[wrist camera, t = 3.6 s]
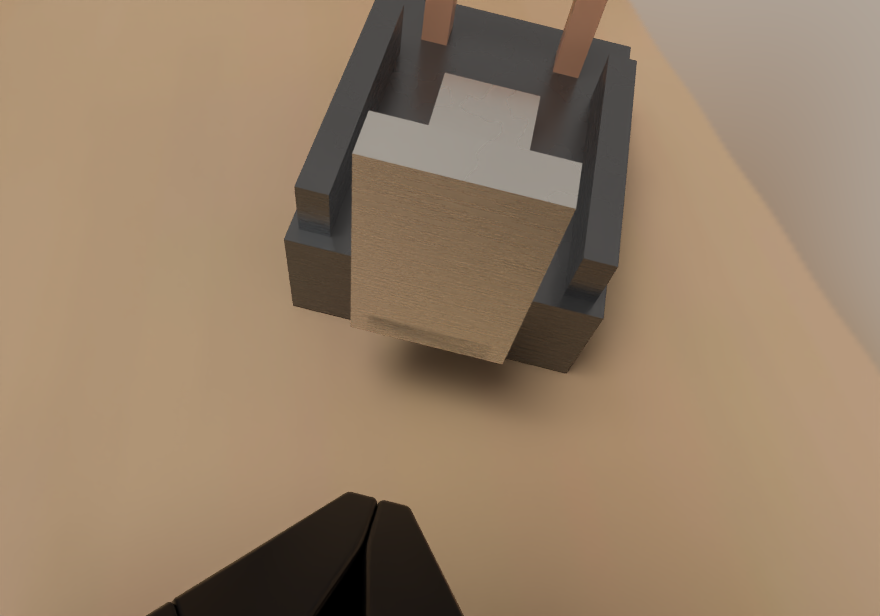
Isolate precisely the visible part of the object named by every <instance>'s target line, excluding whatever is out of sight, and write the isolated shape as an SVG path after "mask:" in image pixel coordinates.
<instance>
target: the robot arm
mask: <svg viewBox="0 0 880 616" xmlns="http://www.w3.org/2000/svg"><path fill="white" fill-rule="evenodd" d="M146 616H464V615H463V613H462V611H461V609H460V607H459V605H458V603H457V601H456V599H455V597H454V595H453V593H452V591H451V589H450V587H449V585H448V583H447V581H446V579H445V577H444V575H443V573H442V571H441V569H440V567H439V565H438V563H437V561H436V559H435V557H434V555H433V553H432V551H431V549H430V547H429V545H428V543H427V541H426V539H425V537H424V535H423V533H422V531H421V529H420V527H419V525H418V523H417V521H416V519H415V517H414V515H413V513H412V511H411V509H410V508H409V507H408V506H405V505H401V504H397V503H393V502H389V501H385V500H382V501H380V502H379V503H378V505H377V501H376V499H375V498H373V497H369V496H365V495H361V494H357V493H353V492H347V493H345V494H343V495H341V496H340V497H338V498H337V499H335V500H333V501H332V502H330V503H328V504H327V505H325V506H324V507H322V508H320V509H319V510H317V511H315V512H314V513H312V514H311V515H309V516H307V517H306V518H304V519H302V520H301V521H299V522H298V523H296V524H294V525H293V526H291V527H289V528H288V529H286V530H285V531H283V532H281V533H280V534H278V535H277V536H275V537H273V538H272V539H270V540H268V541H267V542H265V543H264V544H262V545H260V546H259V547H257V548H255V549H254V550H252V551H251V552H249V553H247V554H246V555H244V556H242V557H241V558H239V559H238V560H236V561H234V562H233V563H231V564H230V565H228V566H226V567H225V568H223V569H221V570H220V571H218V572H217V573H215V574H213V575H212V576H210V577H208V578H207V579H205V580H204V581H202V582H200V583H199V584H197V585H195V586H194V587H192V588H191V589H189V590H187V591H186V592H184V593H183V594H181V595H179V596H178V597H176V598H175V599H174V600H173V601H172V602H168V603H166V604H164V605H163V606H161V607H159V608H158V609H156V610H154V611H153V612H151V613H150V614H148V615H146Z"/></svg>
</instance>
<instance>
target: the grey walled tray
mask: <svg viewBox="0 0 880 616" xmlns="http://www.w3.org/2000/svg"><path fill="white" fill-rule="evenodd" d="M425 2H426V0H375V2H374V4H373V6H372V9H371V11H370V13H369V16H368V18H367V20H366V22H365V25H364V27H363V29H362V32H361V34H360V36H359V39H358V41H357V43H356V46H355V48H354V50H353V53H352V55H351V57H350V59H349V62H348V64H347V66H346V69H345V71H344V73H343V76H342V78H341V80H340V83H339V85H338V87H337V89H336V92H335V94H334V96H333V99H332V101H331V103H330V106H329V108H328V110H327V113H326V115H325V117H324V119H323V122H322V124H321V126H320V129H319V131H318V133H317V136H316V138H315V140H314V143H313V145H312V147H311V149H310V152H309V154H308V156H307V159H306V161H305V163H304V166H303V168H302V170H301V173H300V175H299V177H298V180H297V182H296V184H295V186H294V187H295V197H296V207H297V210H296V212H295V214H294V217H293V219H292V222H291V224H290V226H289V229H288V231H287V233H286V236H285V238H284V243H285V250H286V257H287V265H288V272H289V279H290V286H291V294H292V301H293V305H295V306H299V307H303V308H307V309H311V310H315V311H319V312H323V313H327V314H331V315H335V316H339V317H343V318H347V319H351V229H352V153H353V150H354V148H355V145H356V142H357V140H358V137H359V135H360V132H361V129H362V127H363V124H364V122H365V119H366V117H367V114H368V111H373V112H377V113H381V114H385V115H389V116H393V117H397V118H401V119H405V120H410V121H414V122H418V123H422V124H426V125H429V122H430V119H431V116H432V112H433V109H434V106H435V103H436V100H437V97H438V93H439V90H440V87H441V84H442V81H443V77H444V74H445V73H448V74H453V75H457V76H461V77H465V78H469V79H473V80H477V81H481V82H485V83H489V84H493V85H497V86H501V87H505V88H509V89H513V90H517V91H521V92H525V93H529V94H533V95H537V96H540V101H539V106H538V111H537V116H536V121H535V126H534V131H533V137H532V142H531V147H530V150H531V151H535V152H539V153H543V154H547V155H551V156H555V157H559V158H563V159H567V160H571V161H575V162H579V163H582V170H581V177H580V184H579V191H578V198H577V206H576V210H575V212H574V214H573V216H572V218H571V221H570V223H569V225H568V227H567V229H566V231H565V233H564V235H563V237H562V240H561V242H560V244H559V246H558V248H557V250H556V252H555V254H554V257H553V259H552V261H551V263H550V265H549V267H548V269H547V271H546V273H545V276H544V278H543V280H542V282H541V284H540V286H539V288H538V290H537V292H536V295H535V297H534V299H533V301H532V303H531V305H530V307H529V309H528V312H527V314H526V316H525V318H524V320H523V322H522V324H521V326H520V328H519V331H518V333H517V335H516V337H515V339H514V341H513V343H512V345H511V348H510V350H509V352H508V354H507V356H506V358H507V359H511V360H515V361H519V362H523V363H527V364H532V365H536V366H540V367H544V368H548V369H552V370H556V371H560V372H564V373H567V371H568V370H569V368H570V367H571V365H572V364H573V362H574V361H575V360H576V358H577V357H578V355H579V354H580V352H581V351H582V349H583V348H584V346H585V345H586V343H587V342H588V340H589V339H590V338H591V336H592V335H593V333H594V332H595V330H596V329H597V327H598V326H599V324H600V323H601V321H602V320H603V318H604V308H605V298H606V288H607V283H608V282H609V280H610V279H611V277H612V276H613V274H614V272H615V271H616V269H617V268H618V261H619V250H620V239H621V228H622V218H623V207H624V196H625V185H626V174H627V163H628V152H629V141H630V130H631V119H632V108H633V97H634V86H635V75H636V65H637V61H635V60H631V59H630V49H631V47H628V46H624V45H620V44H616V43H612V42H608V41H604V40H600V39H596V38H593V40H592V43H591V45H590V48H589V51H588V53H587V56H586V59H585V61H584V64H583V67H582V69H581V72H580V75H579V77H578V78H575V77H571V76H567V75H563V74H559V73H555V72H553V68H554V63H555V58H556V53H557V49H558V46H559V43H560V40H561V37H562V34H563V30H559V29H555V28H551V27H547V26H543V25H539V24H535V23H531V22H527V21H523V20H519V19H515V18H511V17H507V16H503V15H498V14H494V13H490V12H486V11H482V10H478V9H474V8H470V7H466V6H462V5H458V4H456V9H455V15H454V22H453V27H452V30H451V33H450V36H449V39H448V43H447V46H446V45H442V44H437V43H433V42H429V41H425V40H421V37H422V28H423V19H424V10H425Z"/></svg>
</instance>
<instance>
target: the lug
mask: <svg viewBox="0 0 880 616" xmlns="http://www.w3.org/2000/svg"><path fill="white" fill-rule="evenodd" d="M456 3H457V0H426V2H425V10H424V19H423V28H422V37H421V40H425V41H429V42H433V43H437V44H442V45H446V46H447V43H448V39H449V36H450V33H451V30H452V27H453V22H454V15H455V9H456ZM606 3H607V0H573V3H572V6H571V10H570V13H569V16H568V19H567V22H566V25H565V28H564V31H563V34H562V37H561V40H560V43H559V46H558V49H557V53H556V58H555V63H554V68H553V72H555V73H559V74H563V75H567V76H571V77H575V78H578V77H579V75H580V72H581V69H582V67H583V64H584V61H585V59H586V56H587V53H588V51H589V48H590V45H591V43H592V40H593V37H594V35H595V32H596V30H597V27H598V24H599V22H600V19H601V16H602V14H603V11H604V8H605V6H606Z"/></svg>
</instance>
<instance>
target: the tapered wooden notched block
mask: <svg viewBox="0 0 880 616" xmlns="http://www.w3.org/2000/svg"><path fill="white" fill-rule="evenodd" d="M539 101H540V96H537V95H533V94H529V93H525V92H521V91H517V90H513V89H509V88H505V87H501V86H497V85H493V84H489V83H485V82H481V81H477V80H473V79H469V78H465V77H461V76H457V75H453V74H448V73H445V74H444V77H443V81H442V84H441V87H440V90H439V93H438V97H437V100H436V103H435V106H434V109H433V112H432V116H431V119H430V122H429V125H426V124H422V123H418V122H414V121H410V120H405V119H401V118H397V117H393V116H389V115H385V114H381V113H377V112H373V111H368V114H367V117H366V119H365V122H364V124H363V127H362V129H361V132H360V135H359V137H358V140H357V142H356V145H355V148H354V150H353V153H352V229H351V327H354V328H358V329H362V330H366V331H370V332H374V333H378V334H382V335H386V336H390V337H394V338H398V339H402V340H406V341H410V342H414V343H418V344H422V345H426V346H430V347H434V348H438V349H442V350H446V351H450V352H454V353H459V354H463V355H467V356H471V357H475V358H479V359H483V360H487V361H491V362H495V363H499V364H503V362H504V360H505V358H506V356H507V354H508V352H509V350H510V348H511V345H512V343H513V341H514V339H515V337H516V335H517V333H518V331H519V328H520V326H521V324H522V322H523V320H524V318H525V316H526V314H527V312H528V309H529V307H530V305H531V303H532V301H533V299H534V297H535V295H536V292H537V290H538V288H539V286H540V284H541V282H542V280H543V278H544V276H545V273H546V271H547V269H548V267H549V265H550V263H551V261H552V259H553V257H554V254H555V252H556V250H557V248H558V246H559V244H560V242H561V240H562V237H563V235H564V233H565V231H566V229H567V227H568V225H569V223H570V221H571V218H572V216H573V214H574V212H575V210H576V206H577V198H578V191H579V184H580V177H581V170H582V163H579V162H575V161H571V160H567V159H563V158H559V157H555V156H551V155H547V154H543V153H539V152H535V151H531V150H530V147H531V142H532V137H533V131H534V126H535V121H536V116H537V111H538V106H539Z"/></svg>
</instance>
